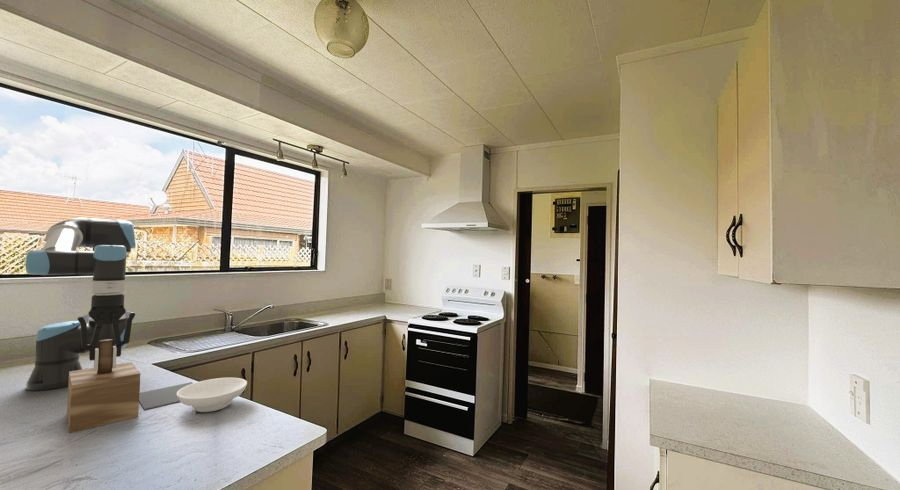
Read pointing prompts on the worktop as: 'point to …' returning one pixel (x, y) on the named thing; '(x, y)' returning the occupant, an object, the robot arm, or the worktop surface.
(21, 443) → the worktop surface
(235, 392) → the bowl
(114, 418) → the wooden block with knob
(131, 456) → the worktop surface
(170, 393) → the mat
